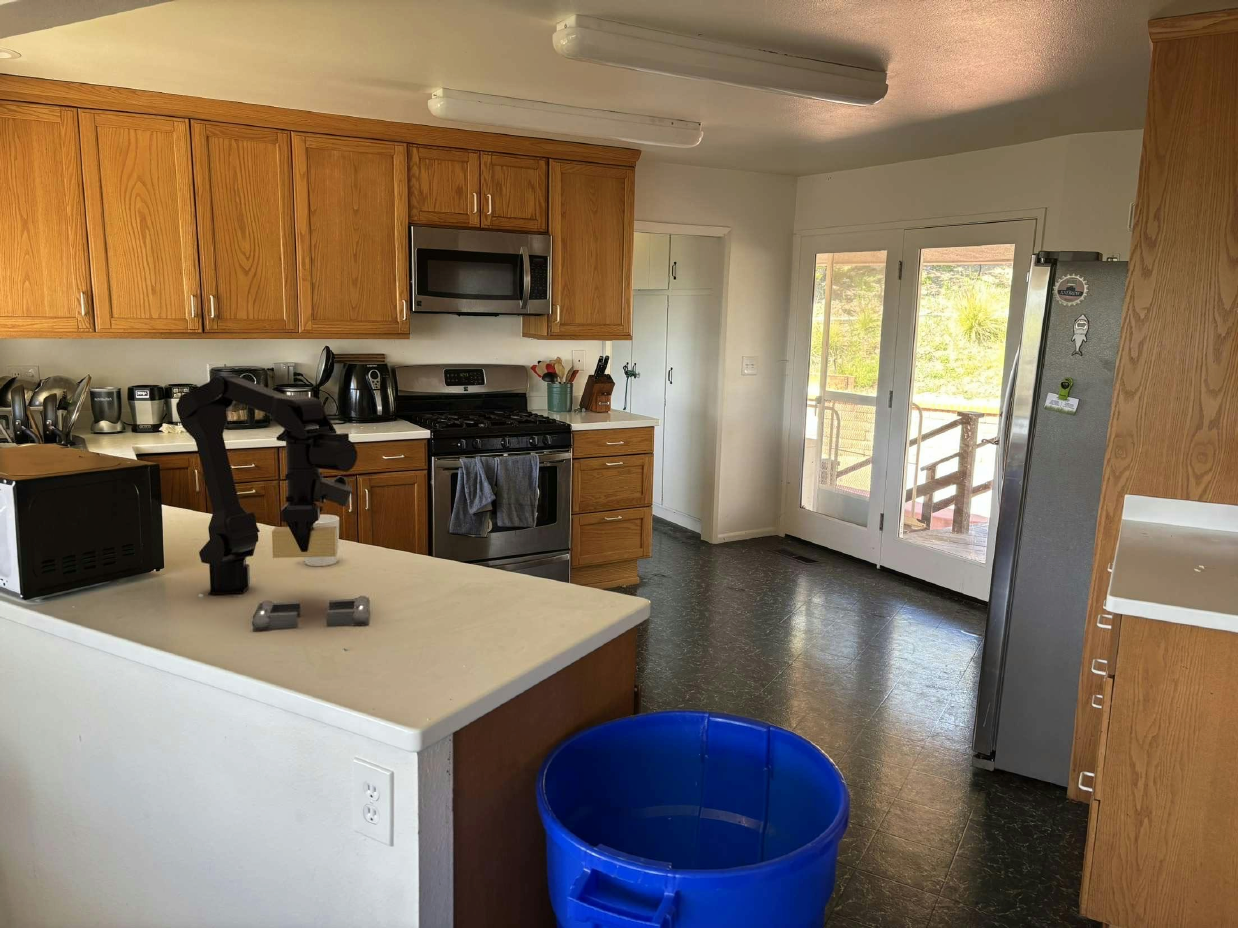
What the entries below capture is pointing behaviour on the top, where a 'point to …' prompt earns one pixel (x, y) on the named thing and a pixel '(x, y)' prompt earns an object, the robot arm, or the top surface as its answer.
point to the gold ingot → (319, 543)
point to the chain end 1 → (276, 615)
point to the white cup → (334, 521)
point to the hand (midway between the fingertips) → (305, 549)
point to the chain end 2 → (348, 611)
